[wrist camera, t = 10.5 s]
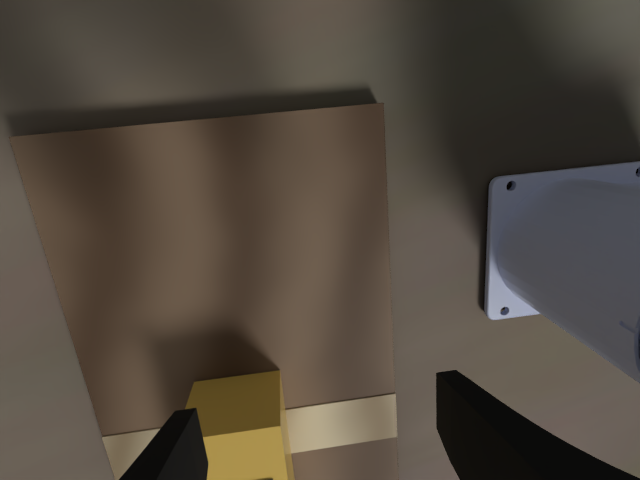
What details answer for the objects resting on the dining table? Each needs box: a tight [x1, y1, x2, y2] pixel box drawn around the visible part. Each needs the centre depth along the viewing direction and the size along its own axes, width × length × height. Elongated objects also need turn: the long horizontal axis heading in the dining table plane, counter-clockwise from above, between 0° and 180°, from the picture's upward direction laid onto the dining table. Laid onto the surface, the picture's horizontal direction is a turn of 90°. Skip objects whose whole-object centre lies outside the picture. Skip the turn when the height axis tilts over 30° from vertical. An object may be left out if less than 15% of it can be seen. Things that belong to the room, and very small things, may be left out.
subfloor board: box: [9, 103, 399, 480], centre depth 20 cm, size 16×24×1 cm, turn 5°
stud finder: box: [185, 370, 295, 480], centre depth 19 cm, size 4×8×4 cm, turn 5°
